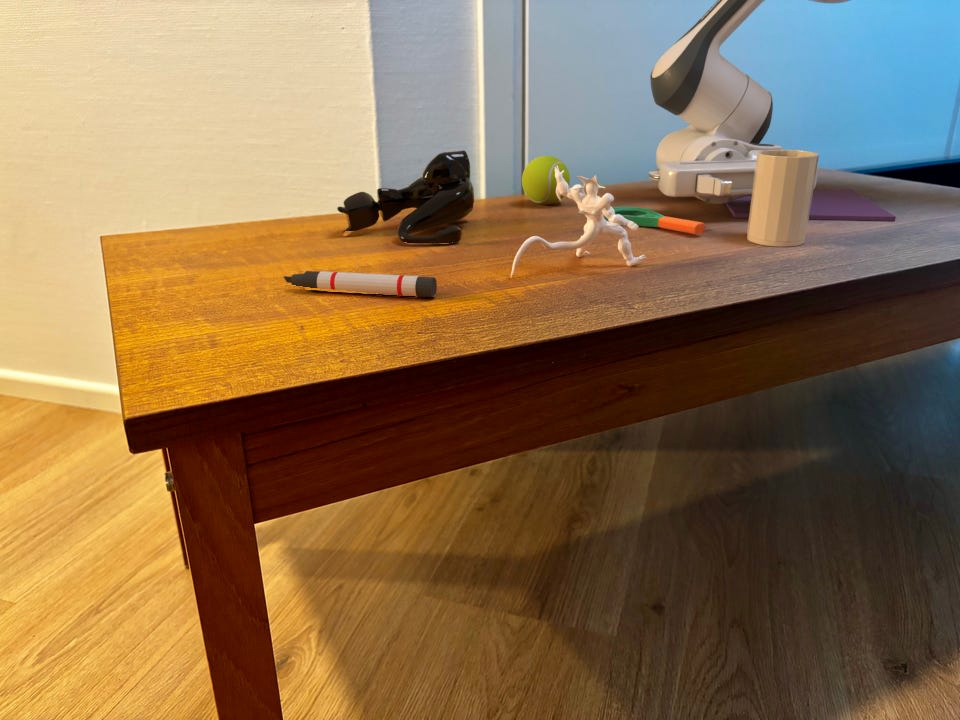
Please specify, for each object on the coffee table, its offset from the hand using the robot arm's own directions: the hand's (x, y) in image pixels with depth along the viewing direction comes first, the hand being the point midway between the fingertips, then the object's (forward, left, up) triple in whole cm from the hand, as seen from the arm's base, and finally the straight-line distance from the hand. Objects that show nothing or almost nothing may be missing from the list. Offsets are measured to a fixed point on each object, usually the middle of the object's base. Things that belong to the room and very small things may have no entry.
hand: (763, 187), depth 89 cm
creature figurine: (+21, +20, -6) cm, 29 cm away
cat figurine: (+42, +7, -6) cm, 43 cm away
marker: (+42, +31, -6) cm, 52 cm away
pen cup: (-1, +5, -5) cm, 7 cm away
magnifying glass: (+13, -1, -6) cm, 14 cm away
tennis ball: (+28, -14, -6) cm, 32 cm away
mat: (-8, -17, -5) cm, 20 cm away
